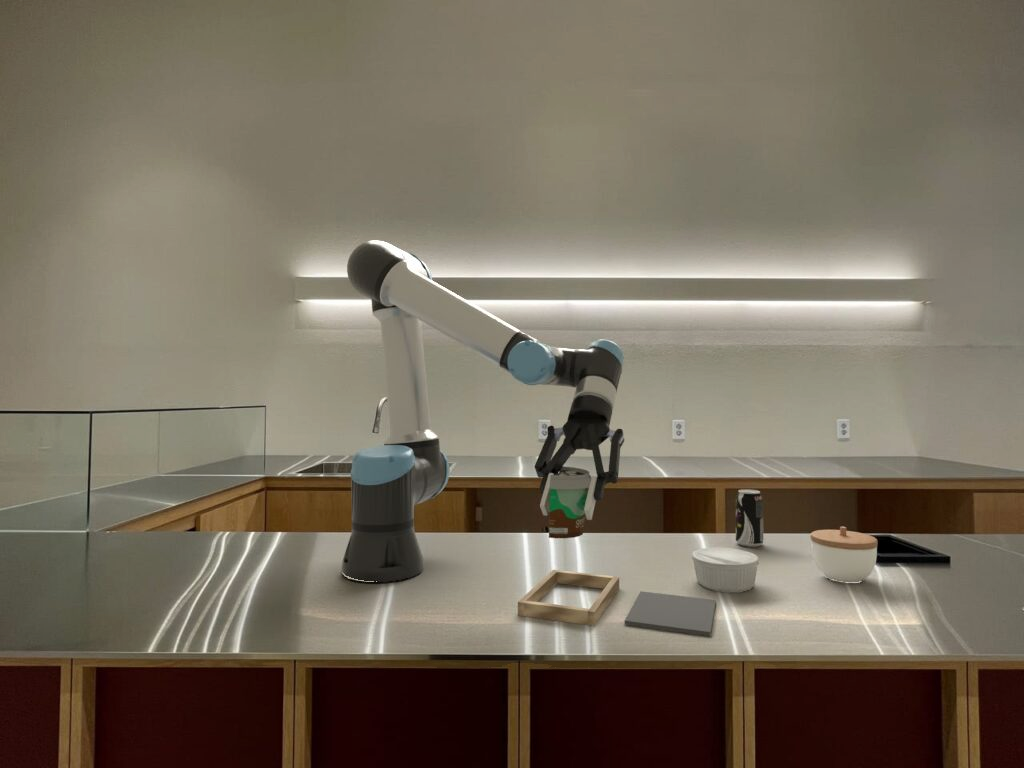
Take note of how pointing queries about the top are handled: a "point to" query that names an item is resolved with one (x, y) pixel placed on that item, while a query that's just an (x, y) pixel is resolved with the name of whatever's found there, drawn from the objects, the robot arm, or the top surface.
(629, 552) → the top surface
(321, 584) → the top surface
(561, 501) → the food container
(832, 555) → the lidded jar
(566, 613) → the oak frame
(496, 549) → the top surface
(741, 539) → the beverage can
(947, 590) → the top surface
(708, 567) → the ramekin
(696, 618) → the charcoal mat
